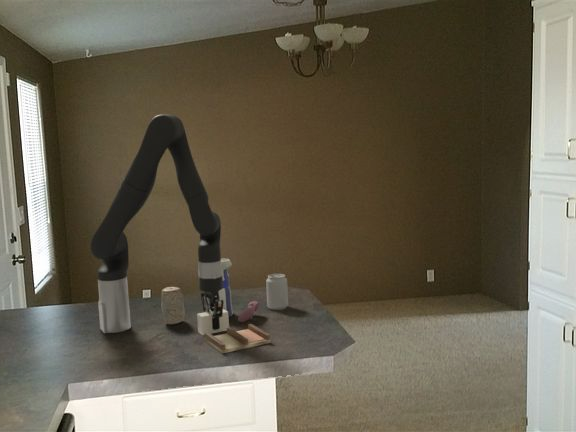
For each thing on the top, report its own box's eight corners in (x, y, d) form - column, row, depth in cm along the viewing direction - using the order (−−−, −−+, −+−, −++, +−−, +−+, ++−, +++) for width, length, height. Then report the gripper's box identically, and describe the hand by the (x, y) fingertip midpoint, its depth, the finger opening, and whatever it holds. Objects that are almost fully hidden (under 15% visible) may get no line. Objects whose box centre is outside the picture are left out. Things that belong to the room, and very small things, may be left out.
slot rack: (221, 353, 168) (221, 345, 167) (205, 340, 179) (204, 333, 179) (270, 342, 175) (270, 334, 175) (251, 331, 186) (251, 323, 186)
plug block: (202, 335, 184) (201, 316, 184) (198, 331, 188) (197, 313, 187) (229, 330, 189) (228, 311, 188) (224, 326, 192) (223, 308, 191)
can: (265, 306, 214) (263, 274, 213) (284, 303, 216) (283, 271, 215) (270, 311, 207) (269, 278, 205) (290, 309, 209) (289, 276, 208)
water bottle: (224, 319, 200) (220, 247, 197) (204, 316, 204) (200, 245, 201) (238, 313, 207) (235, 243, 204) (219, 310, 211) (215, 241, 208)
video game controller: (248, 327, 196) (256, 309, 194) (236, 321, 196) (244, 303, 195) (255, 318, 205) (263, 301, 204) (244, 312, 206) (252, 295, 204)
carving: (161, 321, 200) (159, 287, 199) (183, 318, 203) (181, 284, 201) (163, 327, 194) (161, 291, 193) (186, 324, 197) (184, 289, 195)
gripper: (191, 272, 190) (194, 323, 192) (207, 280, 178) (210, 335, 180) (213, 269, 194) (215, 319, 196) (230, 277, 182) (233, 331, 184)
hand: (213, 327), depth 188 cm, fingers closed on plug block, 4 cm apart
